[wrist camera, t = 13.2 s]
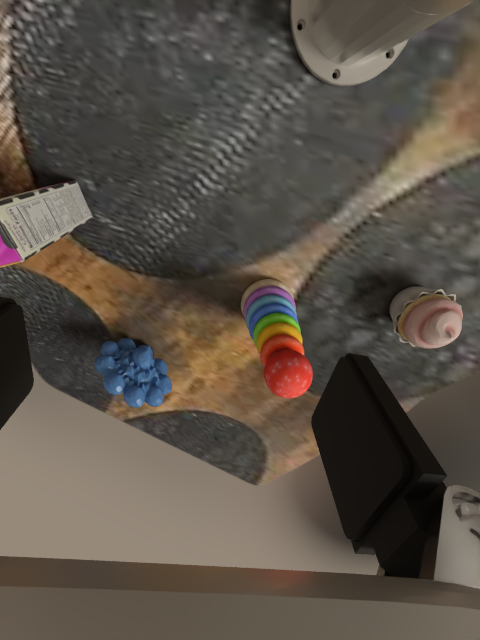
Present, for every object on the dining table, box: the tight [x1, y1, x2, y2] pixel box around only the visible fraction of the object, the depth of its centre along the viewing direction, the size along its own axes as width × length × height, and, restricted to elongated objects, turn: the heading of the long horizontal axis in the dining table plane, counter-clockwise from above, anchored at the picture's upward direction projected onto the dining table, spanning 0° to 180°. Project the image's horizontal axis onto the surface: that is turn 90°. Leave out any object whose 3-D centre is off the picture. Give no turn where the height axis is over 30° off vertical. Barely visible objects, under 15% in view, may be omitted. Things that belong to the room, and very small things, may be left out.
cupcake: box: [389, 286, 463, 348], centre depth 43 cm, size 9×9×10 cm
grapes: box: [94, 338, 172, 408], centre depth 43 cm, size 12×7×12 cm, turn 57°
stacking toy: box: [241, 279, 313, 398], centre depth 38 cm, size 8×8×19 cm
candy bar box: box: [0, 180, 93, 267], centre depth 31 cm, size 11×5×16 cm, turn 103°
